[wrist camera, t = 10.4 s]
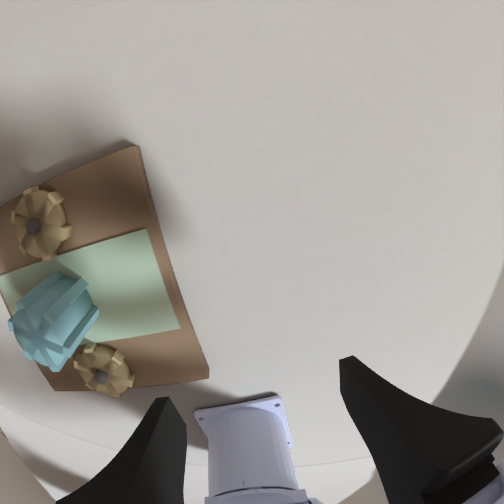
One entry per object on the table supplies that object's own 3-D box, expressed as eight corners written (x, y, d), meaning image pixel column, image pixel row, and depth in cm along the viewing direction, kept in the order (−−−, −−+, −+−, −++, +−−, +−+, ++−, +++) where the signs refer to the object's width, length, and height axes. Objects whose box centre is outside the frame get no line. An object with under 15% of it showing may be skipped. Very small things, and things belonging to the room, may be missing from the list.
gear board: (209, 368, 21) (208, 392, 18) (59, 383, 21) (48, 401, 18) (139, 146, 16) (124, 144, 13) (-15, 218, 15) (-36, 226, 13)
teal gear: (107, 326, 18) (81, 370, 13) (63, 333, 18) (34, 372, 13) (80, 263, 16) (42, 296, 11) (37, 277, 16) (-2, 308, 11)
